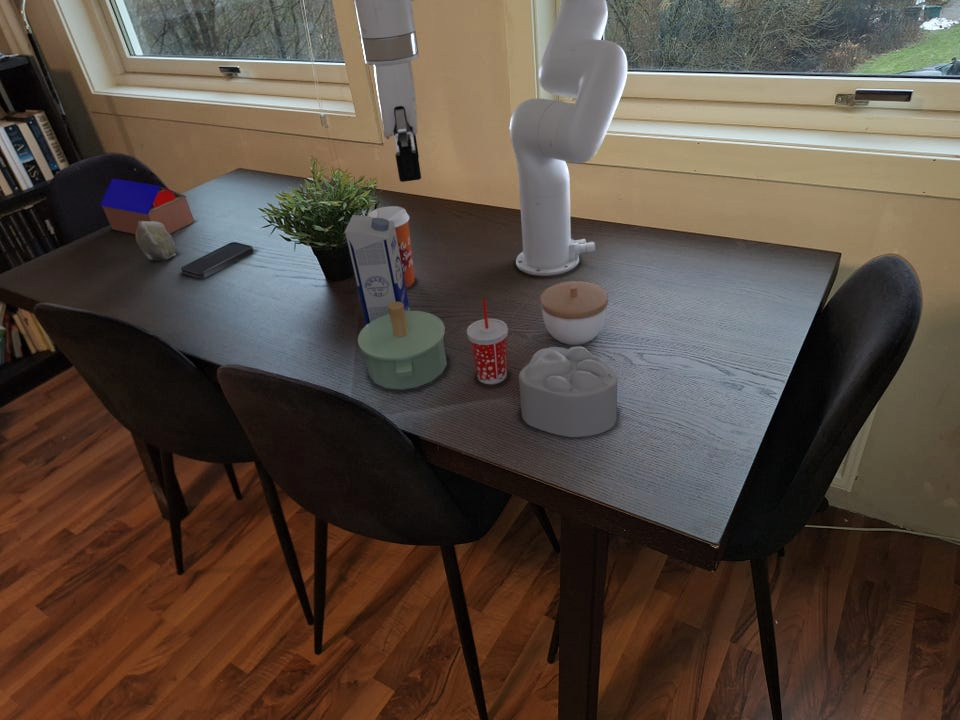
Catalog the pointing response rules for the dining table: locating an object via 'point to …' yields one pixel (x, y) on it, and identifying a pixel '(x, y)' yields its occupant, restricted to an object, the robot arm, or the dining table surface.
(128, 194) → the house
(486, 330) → the beverage cup
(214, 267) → the phone
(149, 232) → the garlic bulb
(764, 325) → the dining table surface
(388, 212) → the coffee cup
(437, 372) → the pot
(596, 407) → the lumpy-topped squat cylinder
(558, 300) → the trinket box
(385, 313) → the milk carton
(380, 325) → the lid
